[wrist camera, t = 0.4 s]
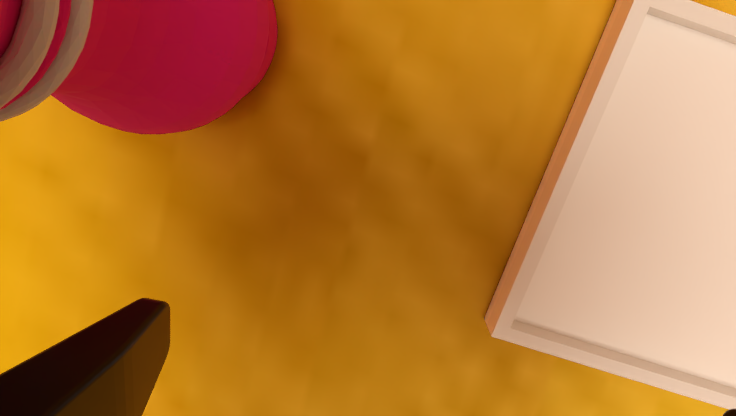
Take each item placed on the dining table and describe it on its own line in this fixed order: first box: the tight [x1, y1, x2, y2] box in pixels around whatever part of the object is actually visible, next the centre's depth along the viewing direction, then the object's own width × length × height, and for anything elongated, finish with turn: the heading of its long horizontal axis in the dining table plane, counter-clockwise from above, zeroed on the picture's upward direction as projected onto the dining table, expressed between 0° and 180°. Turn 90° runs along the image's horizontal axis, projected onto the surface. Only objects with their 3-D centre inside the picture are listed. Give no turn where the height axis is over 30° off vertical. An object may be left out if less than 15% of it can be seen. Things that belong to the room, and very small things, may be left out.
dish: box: [484, 0, 736, 410], centre depth 21 cm, size 14×14×2 cm
